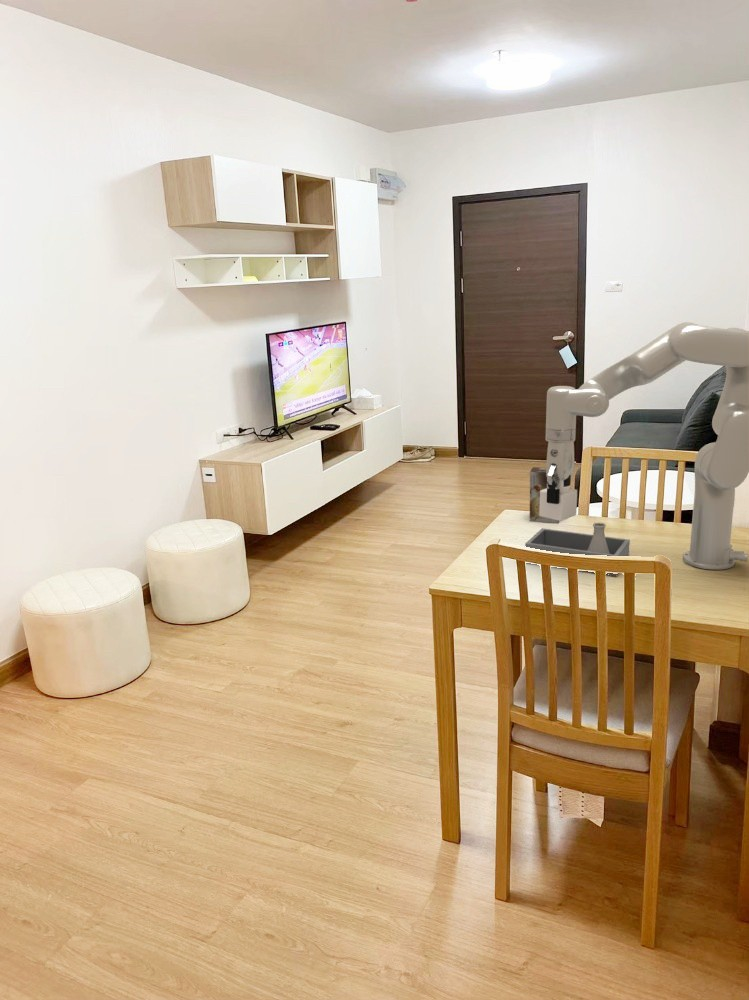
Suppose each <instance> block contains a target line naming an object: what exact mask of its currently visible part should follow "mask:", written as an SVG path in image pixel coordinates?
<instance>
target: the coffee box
mask: <svg viewBox="0 0 749 1000" xmlns="http://www.w3.org/2000/svg"><path fill="white" fill-rule="evenodd" d="M546 488H547V476H546V467H539V466H538V467H537V466H535V467H534V466H533V467H532V468H531V469H530V472H529V522H535V523H536V522H537V523H538V522H540V523H549V524H550V523H553V524H559V523H560V521H559V520H555V519H550V518H546V517H542V516H539V505H540V491H541V490H544V489H546Z"/></svg>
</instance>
